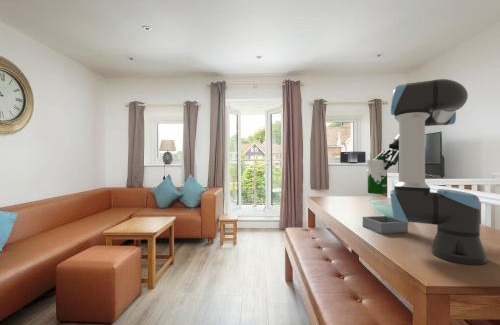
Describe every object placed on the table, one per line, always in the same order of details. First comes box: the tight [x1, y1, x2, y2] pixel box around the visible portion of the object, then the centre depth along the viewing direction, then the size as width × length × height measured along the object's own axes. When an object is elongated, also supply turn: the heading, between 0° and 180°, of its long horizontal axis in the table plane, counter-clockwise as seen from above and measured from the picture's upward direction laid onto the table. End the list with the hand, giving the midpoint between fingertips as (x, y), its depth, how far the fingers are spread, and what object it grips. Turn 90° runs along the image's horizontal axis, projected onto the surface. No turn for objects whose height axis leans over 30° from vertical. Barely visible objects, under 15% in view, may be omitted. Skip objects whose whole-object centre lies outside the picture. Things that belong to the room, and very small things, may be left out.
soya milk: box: [366, 155, 389, 195], centre depth 137 cm, size 9×9×20 cm
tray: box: [362, 215, 409, 235], centre depth 125 cm, size 14×14×5 cm
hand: (373, 173), depth 136 cm, fingers closed on soya milk, 9 cm apart
